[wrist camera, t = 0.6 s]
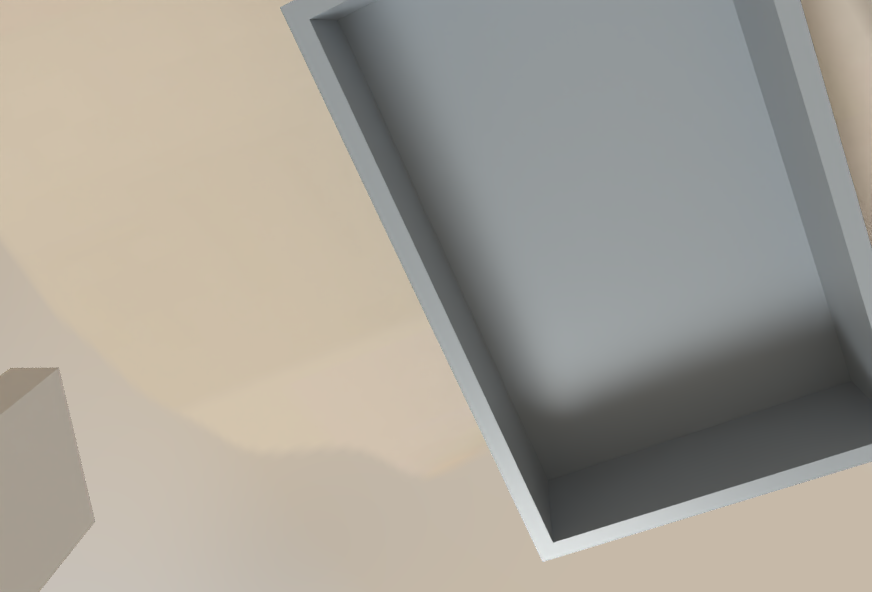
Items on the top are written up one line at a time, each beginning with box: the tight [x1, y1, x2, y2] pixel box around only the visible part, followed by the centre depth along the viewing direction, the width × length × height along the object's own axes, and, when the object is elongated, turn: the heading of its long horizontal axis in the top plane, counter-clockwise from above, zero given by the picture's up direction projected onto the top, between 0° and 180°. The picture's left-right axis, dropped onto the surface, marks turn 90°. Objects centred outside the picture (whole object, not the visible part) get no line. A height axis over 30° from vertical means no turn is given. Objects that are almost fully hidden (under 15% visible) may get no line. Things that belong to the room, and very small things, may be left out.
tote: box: [280, 0, 872, 562], centre depth 32 cm, size 26×17×6 cm, turn 24°
